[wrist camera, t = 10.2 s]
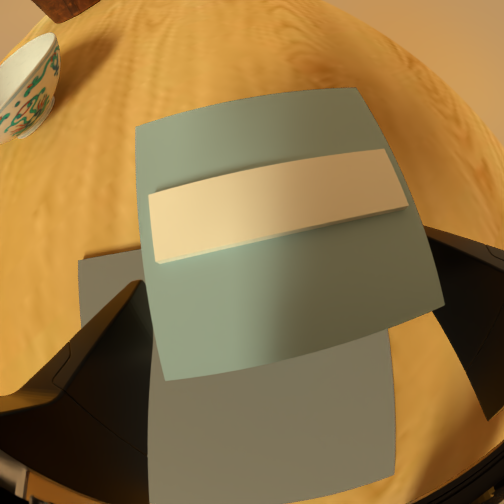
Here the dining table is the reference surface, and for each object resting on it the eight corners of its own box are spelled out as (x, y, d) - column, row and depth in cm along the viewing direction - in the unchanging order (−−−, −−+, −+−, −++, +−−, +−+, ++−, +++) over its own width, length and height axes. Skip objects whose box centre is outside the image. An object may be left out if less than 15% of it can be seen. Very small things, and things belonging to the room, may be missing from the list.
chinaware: (81, 56, 25) (59, 19, 17) (87, 116, 21) (49, 66, 14) (2, 117, 23) (-26, 90, 16) (-9, 194, 20) (-52, 167, 13)
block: (298, 235, 17) (358, 81, 5) (318, 316, 16) (450, 304, 4) (217, 254, 17) (132, 121, 5) (234, 336, 16) (160, 383, 4)
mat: (361, 217, 18) (364, 214, 17) (391, 471, 13) (394, 475, 13) (81, 261, 18) (77, 260, 17) (127, 496, 13) (124, 499, 13)
